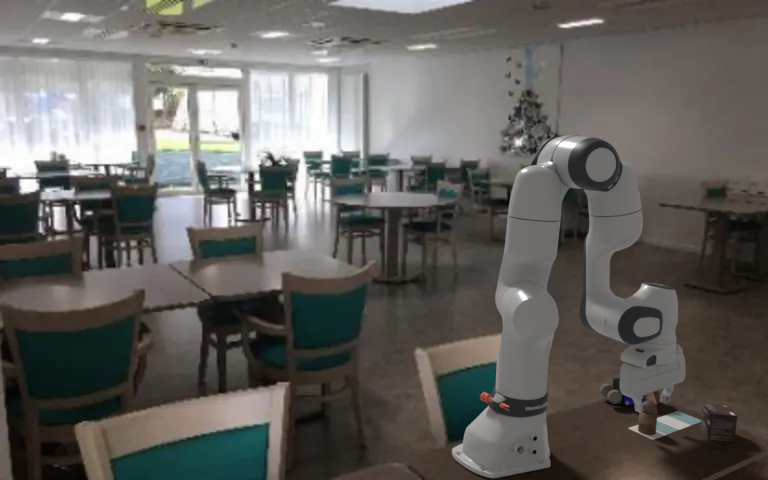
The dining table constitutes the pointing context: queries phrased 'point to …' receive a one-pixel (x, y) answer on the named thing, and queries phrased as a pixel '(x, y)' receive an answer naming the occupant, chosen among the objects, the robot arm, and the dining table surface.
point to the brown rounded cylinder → (648, 419)
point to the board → (670, 424)
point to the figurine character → (617, 397)
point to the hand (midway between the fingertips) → (652, 406)
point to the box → (718, 422)
